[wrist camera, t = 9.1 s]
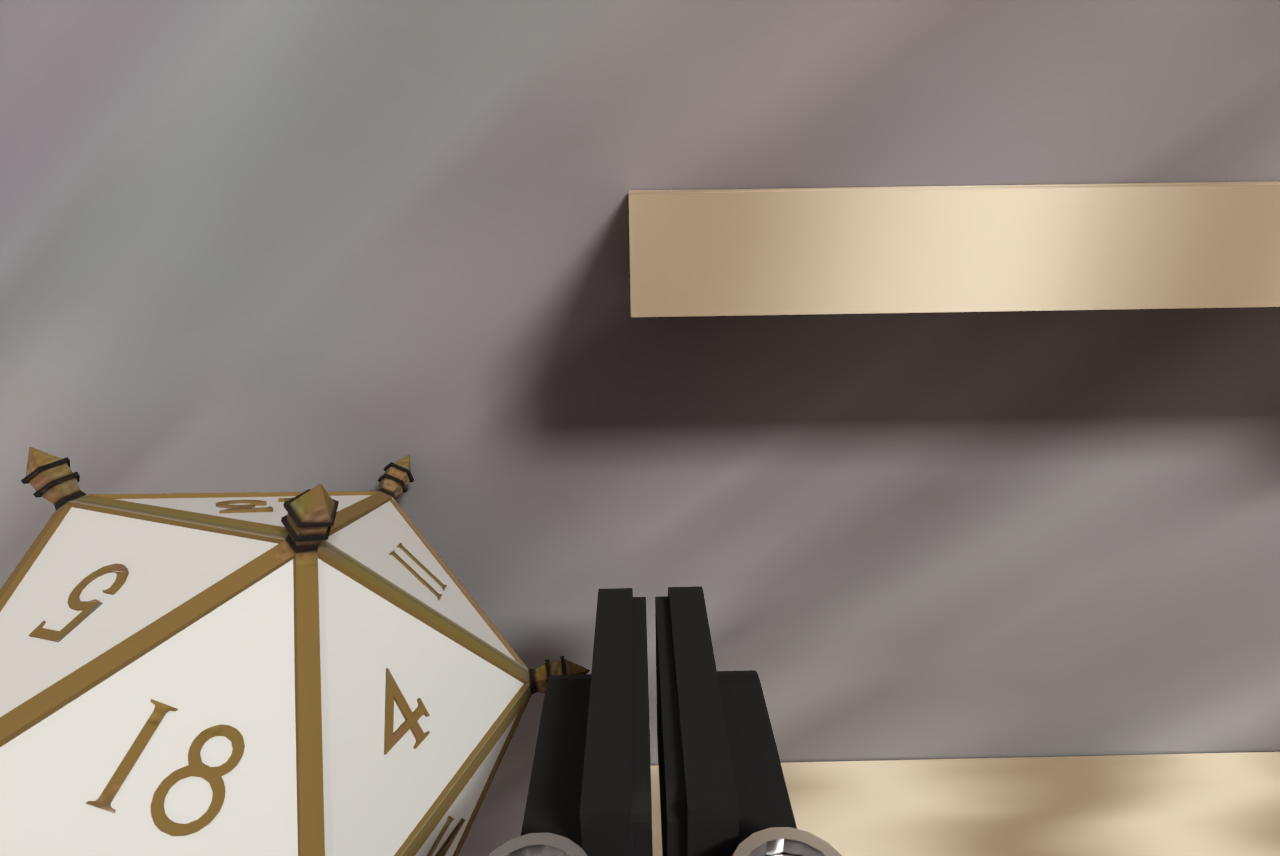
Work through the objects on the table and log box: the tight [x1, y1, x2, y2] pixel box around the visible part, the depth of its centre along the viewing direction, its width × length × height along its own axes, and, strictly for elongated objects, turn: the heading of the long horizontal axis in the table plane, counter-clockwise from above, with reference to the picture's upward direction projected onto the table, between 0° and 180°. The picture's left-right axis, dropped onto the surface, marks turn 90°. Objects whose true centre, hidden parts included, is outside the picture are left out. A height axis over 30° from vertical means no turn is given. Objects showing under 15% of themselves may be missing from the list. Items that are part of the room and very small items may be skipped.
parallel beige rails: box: [629, 181, 1280, 856], centre depth 12 cm, size 16×14×4 cm
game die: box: [0, 447, 590, 856], centre depth 10 cm, size 9×8×10 cm
